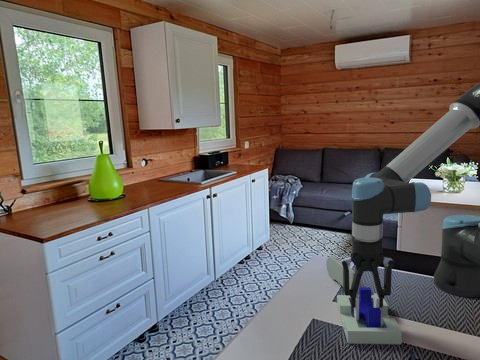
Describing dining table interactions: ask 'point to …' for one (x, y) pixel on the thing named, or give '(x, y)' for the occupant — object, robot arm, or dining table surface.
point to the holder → (358, 329)
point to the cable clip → (368, 309)
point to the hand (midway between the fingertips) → (366, 317)
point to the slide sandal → (338, 271)
